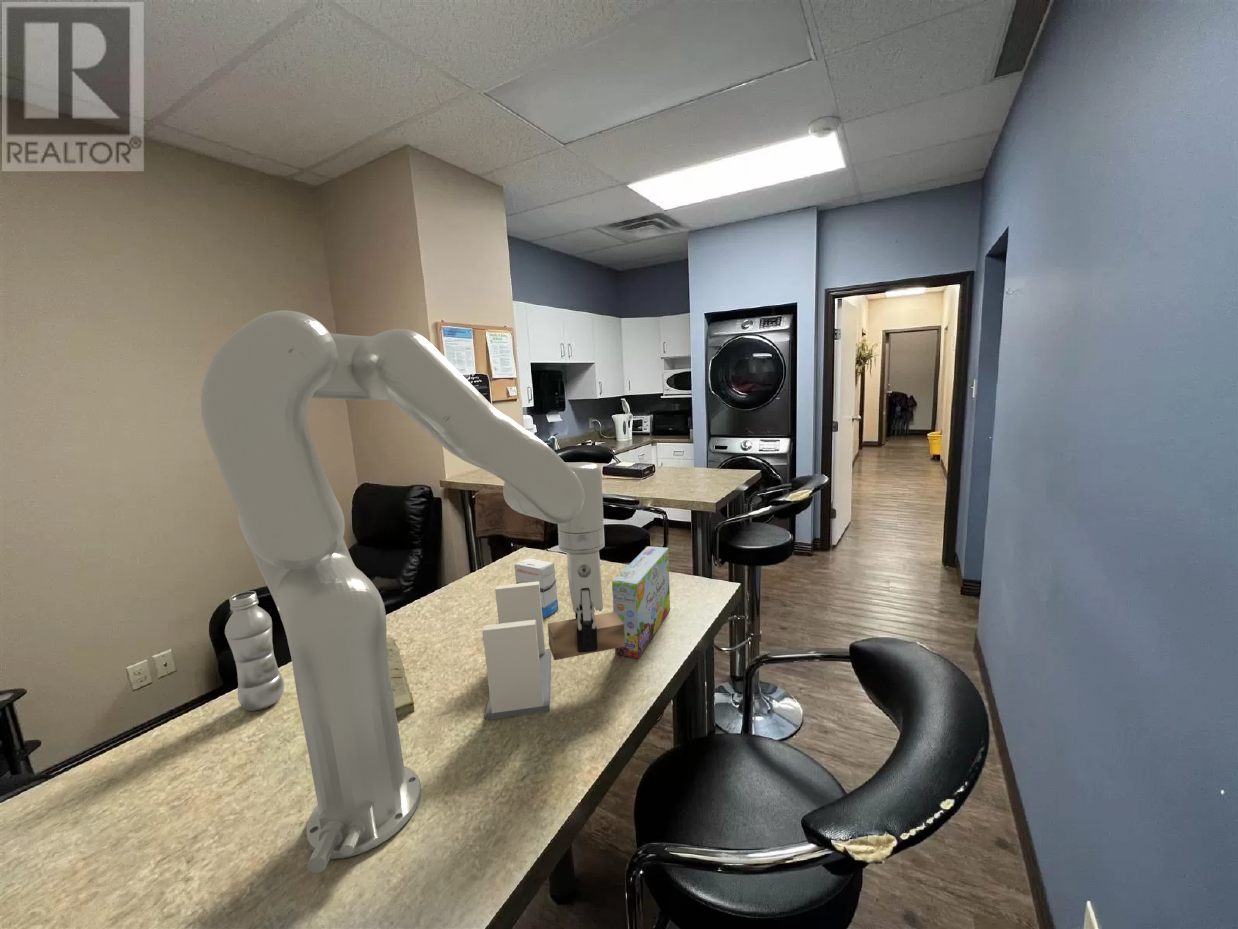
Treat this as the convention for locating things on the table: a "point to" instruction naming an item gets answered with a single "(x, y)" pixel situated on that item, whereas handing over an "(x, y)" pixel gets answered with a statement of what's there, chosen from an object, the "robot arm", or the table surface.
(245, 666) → the plastic bottle
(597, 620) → the brown wooden block
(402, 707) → the stone slab
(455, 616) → the table surface
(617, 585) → the snack box
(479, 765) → the table surface
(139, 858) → the table surface
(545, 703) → the stand
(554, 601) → the ink box
